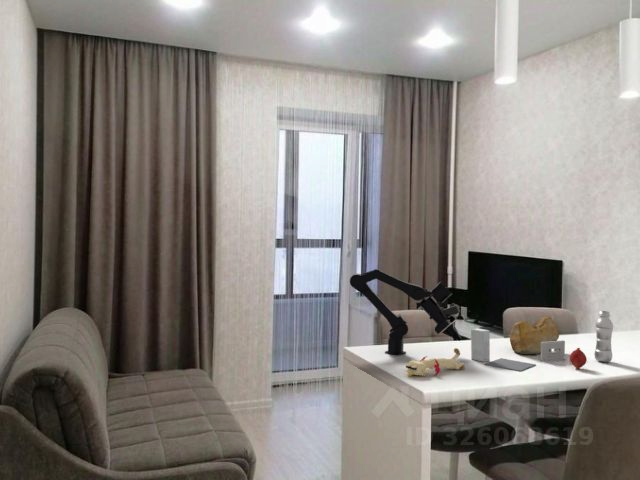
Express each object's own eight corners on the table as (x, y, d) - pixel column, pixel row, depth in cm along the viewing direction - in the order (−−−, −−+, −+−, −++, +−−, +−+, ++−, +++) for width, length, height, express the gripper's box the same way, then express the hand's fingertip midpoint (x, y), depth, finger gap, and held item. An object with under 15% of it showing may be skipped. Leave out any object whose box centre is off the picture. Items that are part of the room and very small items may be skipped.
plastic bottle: (610, 360, 227) (612, 311, 227) (613, 364, 220) (615, 313, 220) (593, 359, 229) (594, 310, 229) (595, 362, 223) (596, 312, 222)
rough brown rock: (534, 347, 256) (532, 314, 256) (565, 351, 241) (562, 316, 242) (496, 353, 245) (494, 318, 246) (526, 357, 230) (523, 320, 231)
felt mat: (520, 371, 206) (520, 370, 206) (484, 364, 215) (484, 363, 215) (535, 365, 216) (535, 364, 216) (501, 359, 226) (501, 358, 226)
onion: (566, 366, 215) (566, 345, 215) (580, 366, 215) (581, 345, 215) (574, 370, 209) (575, 349, 209) (589, 370, 210) (589, 349, 209)
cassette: (561, 359, 229) (562, 340, 229) (565, 360, 227) (566, 341, 227) (539, 361, 224) (539, 341, 224) (542, 362, 222) (543, 342, 222)
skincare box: (490, 360, 222) (490, 330, 222) (483, 362, 219) (484, 331, 219) (476, 357, 227) (477, 327, 227) (470, 359, 224) (470, 328, 224)
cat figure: (448, 369, 213) (397, 371, 199) (450, 346, 213) (399, 346, 200) (468, 375, 205) (417, 378, 191) (470, 351, 205) (419, 352, 191)
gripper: (443, 299, 219) (472, 330, 215) (452, 295, 237) (478, 323, 232) (423, 318, 223) (450, 349, 218) (433, 312, 240) (458, 340, 236)
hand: (460, 339), depth 226 cm, fingers closed
